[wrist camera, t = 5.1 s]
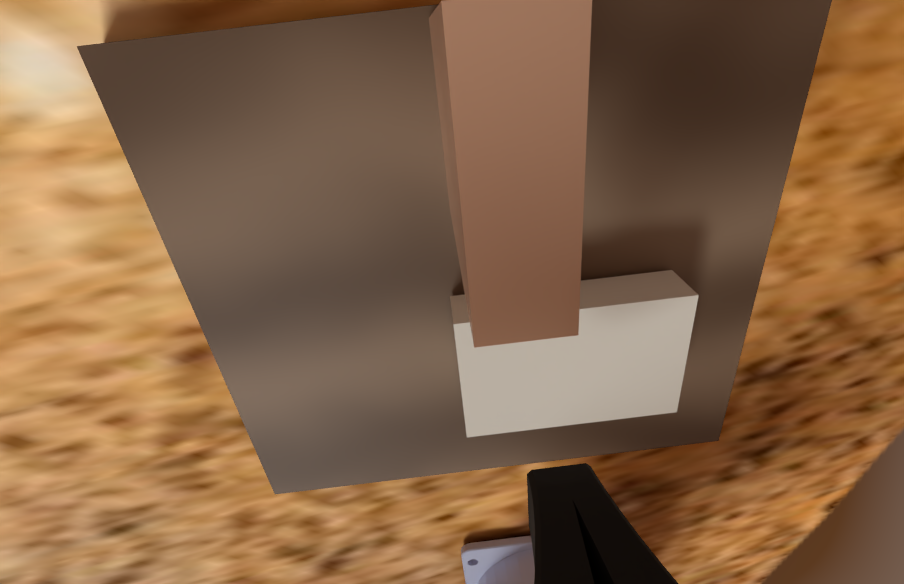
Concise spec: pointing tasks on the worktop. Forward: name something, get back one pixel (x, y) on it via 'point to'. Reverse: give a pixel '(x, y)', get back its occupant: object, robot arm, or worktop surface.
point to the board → (444, 215)
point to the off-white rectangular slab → (583, 360)
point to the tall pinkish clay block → (515, 158)
